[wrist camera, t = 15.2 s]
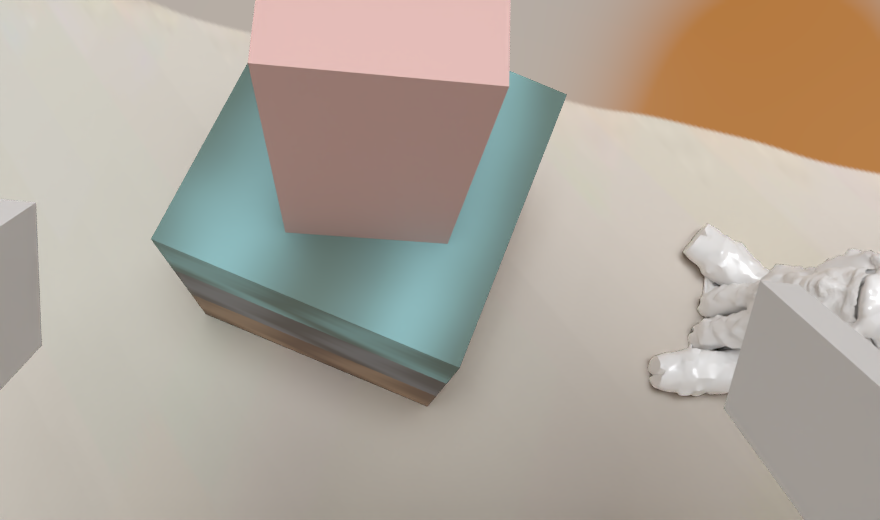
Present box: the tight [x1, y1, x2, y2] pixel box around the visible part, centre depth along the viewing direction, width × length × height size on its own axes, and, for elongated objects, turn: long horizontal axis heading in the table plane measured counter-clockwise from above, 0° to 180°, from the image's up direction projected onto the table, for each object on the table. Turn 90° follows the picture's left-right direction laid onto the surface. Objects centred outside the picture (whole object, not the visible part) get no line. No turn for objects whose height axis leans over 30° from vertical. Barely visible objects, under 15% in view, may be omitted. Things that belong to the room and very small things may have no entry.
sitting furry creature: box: [648, 224, 880, 396], centre depth 38 cm, size 10×9×12 cm
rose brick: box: [248, 0, 510, 244], centre depth 25 cm, size 6×6×12 cm
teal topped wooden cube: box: [151, 63, 566, 406], centre depth 37 cm, size 12×12×12 cm
